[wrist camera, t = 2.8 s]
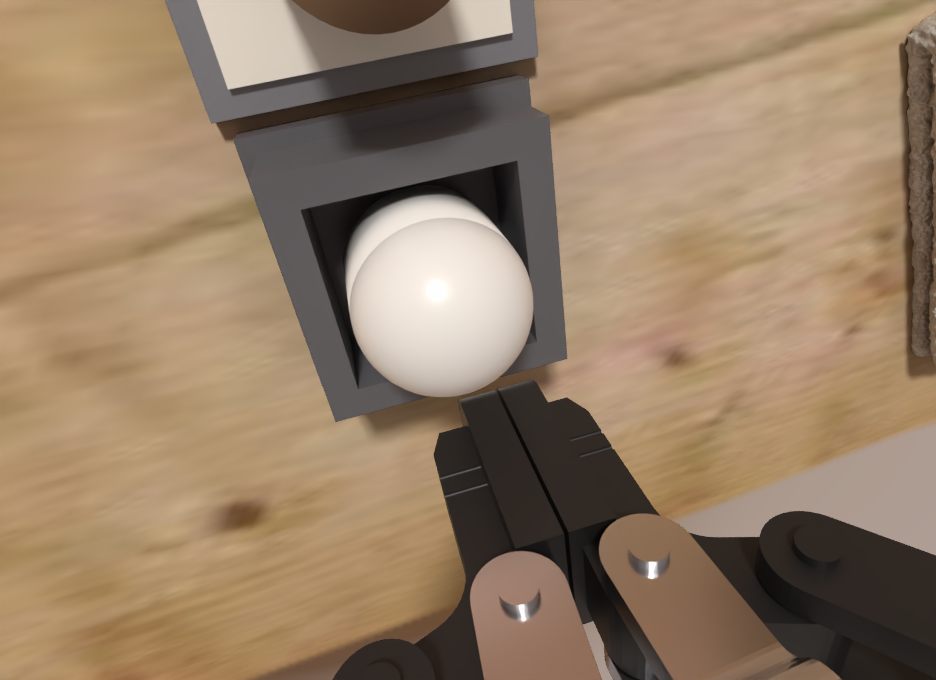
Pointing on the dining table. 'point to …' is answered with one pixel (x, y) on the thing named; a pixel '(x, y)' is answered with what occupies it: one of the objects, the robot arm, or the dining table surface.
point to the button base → (390, 169)
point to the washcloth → (923, 182)
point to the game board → (335, 50)
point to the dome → (435, 292)
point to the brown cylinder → (372, 13)
